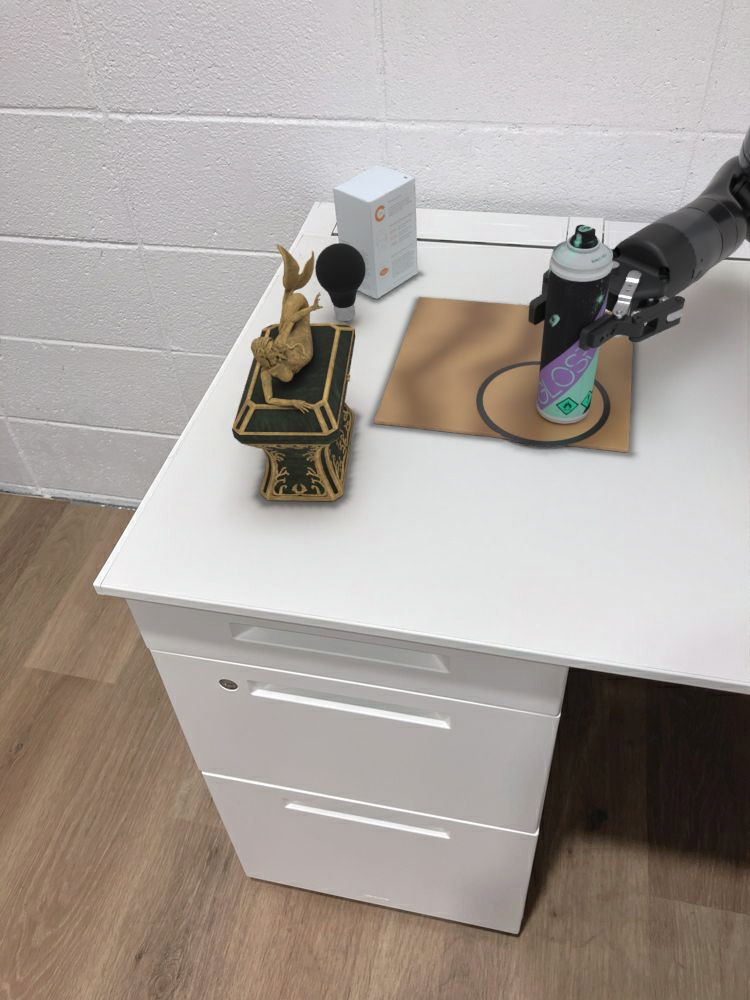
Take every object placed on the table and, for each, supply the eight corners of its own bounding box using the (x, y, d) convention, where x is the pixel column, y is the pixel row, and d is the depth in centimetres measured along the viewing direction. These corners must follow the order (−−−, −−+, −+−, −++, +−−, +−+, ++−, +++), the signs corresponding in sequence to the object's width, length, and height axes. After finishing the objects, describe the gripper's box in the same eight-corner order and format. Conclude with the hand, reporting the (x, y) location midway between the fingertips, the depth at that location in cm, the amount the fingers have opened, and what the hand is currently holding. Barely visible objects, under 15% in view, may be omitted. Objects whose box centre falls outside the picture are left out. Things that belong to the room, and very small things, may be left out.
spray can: (533, 420, 82) (550, 242, 68) (539, 387, 86) (556, 211, 71) (587, 426, 81) (616, 246, 67) (591, 392, 85) (619, 214, 70)
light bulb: (347, 340, 95) (339, 265, 88) (312, 324, 98) (301, 249, 91) (379, 317, 98) (374, 243, 91) (344, 302, 101) (336, 228, 94)
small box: (383, 258, 108) (378, 162, 99) (419, 274, 105) (417, 176, 95) (341, 284, 104) (331, 186, 95) (376, 300, 101) (369, 201, 92)
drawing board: (633, 316, 95) (634, 313, 95) (627, 459, 79) (628, 455, 78) (419, 299, 101) (419, 295, 100) (371, 429, 84) (371, 425, 84)
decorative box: (349, 515, 76) (328, 342, 62) (250, 513, 77) (206, 343, 63) (367, 383, 90) (353, 217, 75) (282, 383, 90) (252, 219, 76)
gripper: (612, 201, 83) (500, 265, 76) (738, 248, 75) (627, 324, 68) (602, 266, 88) (497, 331, 81) (719, 316, 80) (614, 393, 73)
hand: (557, 328), depth 75 cm, fingers closed on spray can, 5 cm apart
